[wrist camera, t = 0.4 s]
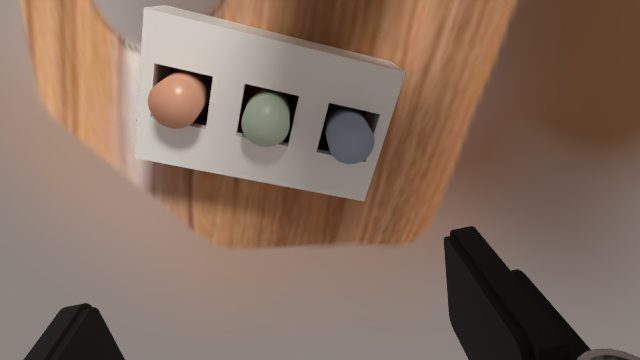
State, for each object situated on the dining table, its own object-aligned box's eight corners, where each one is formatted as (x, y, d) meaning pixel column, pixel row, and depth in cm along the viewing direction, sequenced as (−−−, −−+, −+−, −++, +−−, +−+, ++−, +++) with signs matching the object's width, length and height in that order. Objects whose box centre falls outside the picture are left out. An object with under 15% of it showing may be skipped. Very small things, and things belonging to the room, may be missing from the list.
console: (165, 5, 37) (143, 7, 32) (390, 61, 41) (406, 72, 35) (154, 136, 43) (134, 158, 37) (355, 176, 46) (364, 201, 41)
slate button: (329, 101, 39) (335, 115, 34) (370, 110, 39) (380, 125, 35) (320, 140, 40) (323, 159, 36) (358, 148, 41) (366, 168, 36)
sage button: (251, 83, 37) (245, 96, 33) (293, 92, 38) (294, 106, 34) (244, 124, 39) (237, 141, 34) (285, 132, 40) (284, 151, 35)
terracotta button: (167, 64, 36) (149, 74, 32) (212, 74, 37) (201, 86, 32) (163, 107, 38) (146, 123, 33) (207, 116, 38) (195, 133, 34)
